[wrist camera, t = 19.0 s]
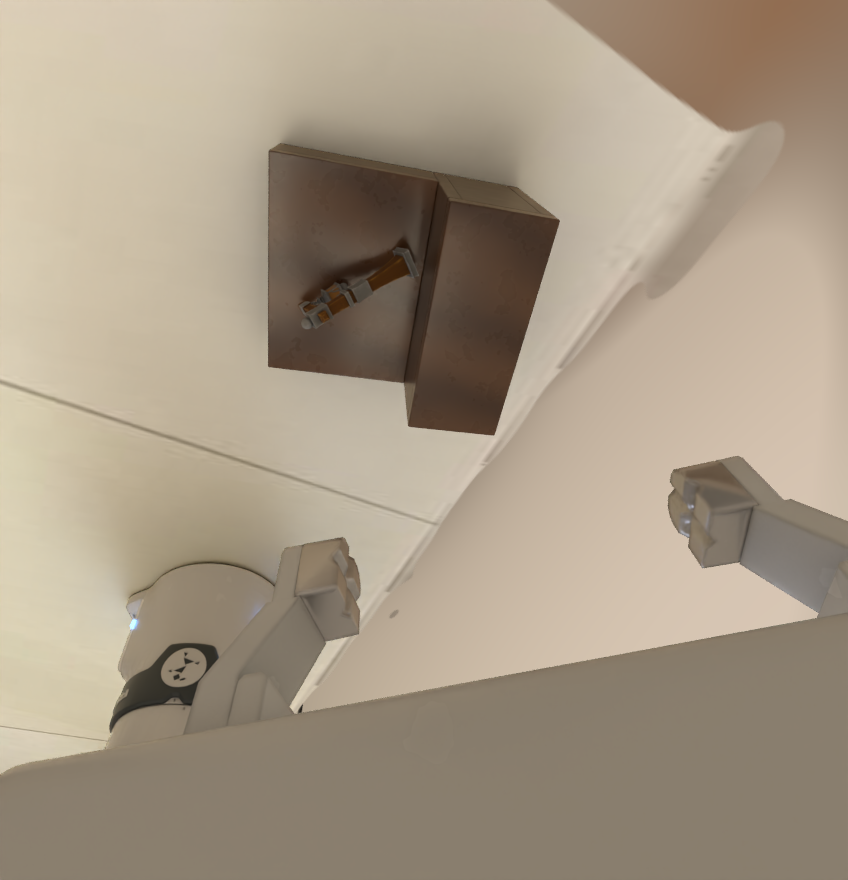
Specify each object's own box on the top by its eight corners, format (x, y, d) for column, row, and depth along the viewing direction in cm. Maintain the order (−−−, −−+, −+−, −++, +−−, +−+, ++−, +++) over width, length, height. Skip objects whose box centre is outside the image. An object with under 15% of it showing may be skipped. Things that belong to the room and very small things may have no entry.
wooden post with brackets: (280, 303, 33) (297, 316, 30) (381, 243, 35) (409, 249, 31) (295, 326, 34) (313, 342, 31) (392, 268, 36) (420, 276, 32)
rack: (472, 368, 43) (494, 436, 35) (276, 343, 40) (251, 410, 32) (518, 187, 35) (560, 220, 27) (279, 142, 33) (246, 164, 24)
